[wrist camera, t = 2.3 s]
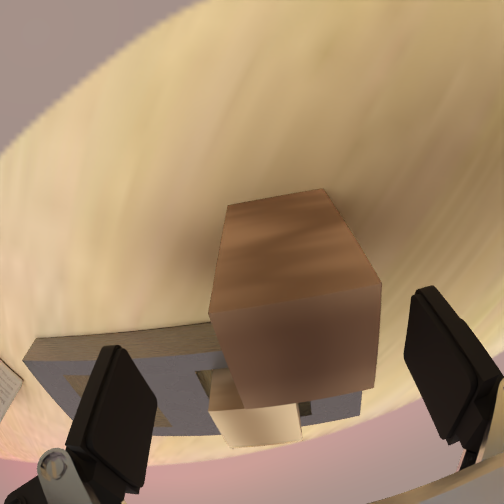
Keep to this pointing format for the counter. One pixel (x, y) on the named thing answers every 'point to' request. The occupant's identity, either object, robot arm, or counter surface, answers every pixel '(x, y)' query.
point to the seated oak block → (250, 417)
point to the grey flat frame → (160, 376)
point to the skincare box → (7, 388)
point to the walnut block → (294, 302)
